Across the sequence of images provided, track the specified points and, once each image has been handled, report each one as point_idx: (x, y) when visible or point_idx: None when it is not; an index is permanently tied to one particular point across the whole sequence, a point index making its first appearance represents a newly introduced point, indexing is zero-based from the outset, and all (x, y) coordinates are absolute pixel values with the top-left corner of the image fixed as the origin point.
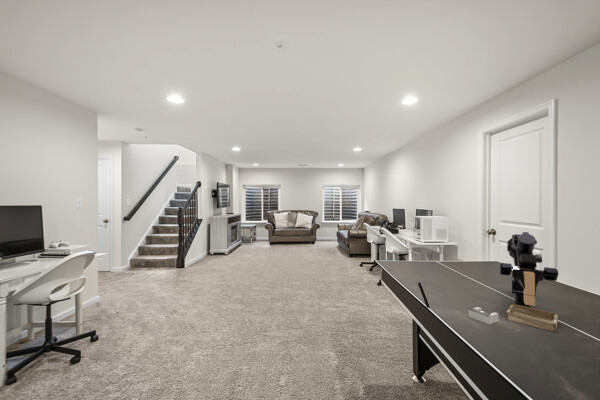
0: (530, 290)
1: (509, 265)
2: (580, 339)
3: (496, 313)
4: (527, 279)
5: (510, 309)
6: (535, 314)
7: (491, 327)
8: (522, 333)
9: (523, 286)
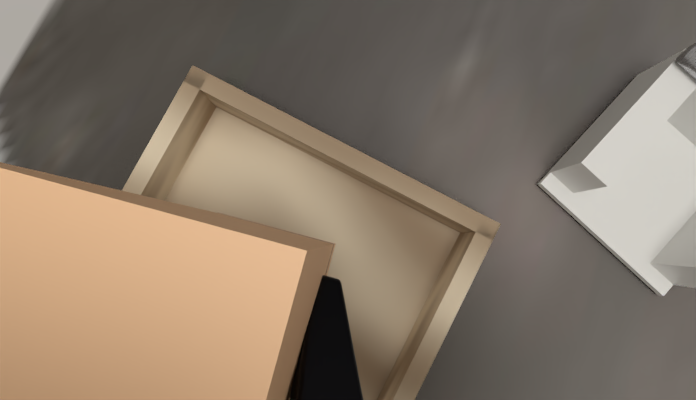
0: (256, 224)
1: None
2: (99, 49)
3: (598, 158)
4: (263, 231)
5: (424, 339)
6: None
7: (625, 53)
8: (446, 18)
9: (341, 295)
